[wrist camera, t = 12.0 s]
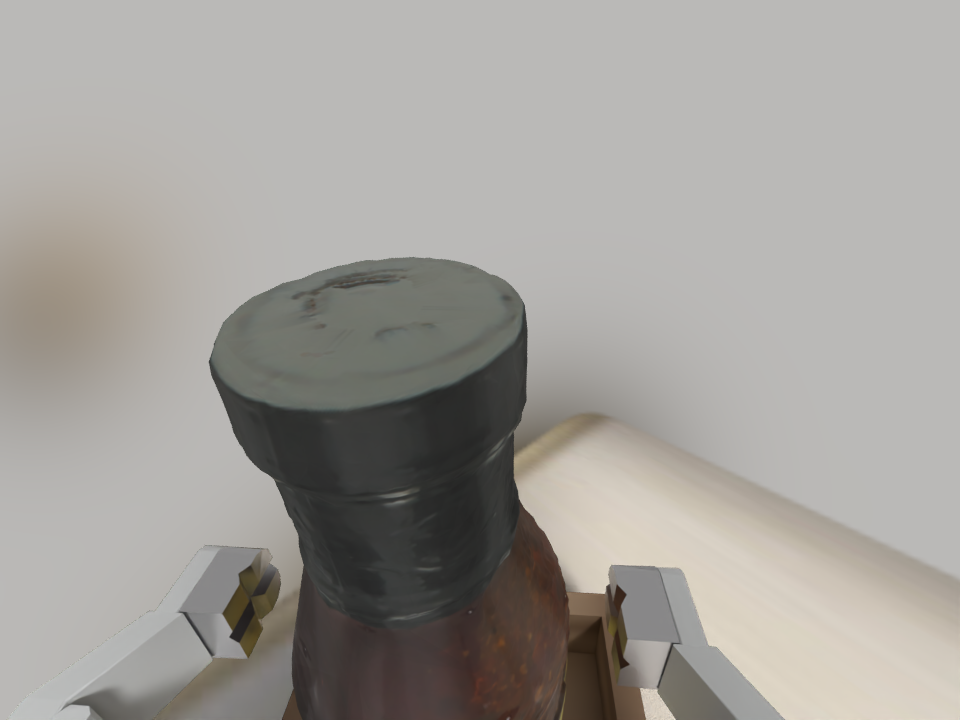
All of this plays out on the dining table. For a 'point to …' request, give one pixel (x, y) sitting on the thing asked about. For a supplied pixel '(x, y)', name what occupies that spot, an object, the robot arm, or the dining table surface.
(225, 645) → the robot arm
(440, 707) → the sauce bottle
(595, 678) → the brown wooden tray
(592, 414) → the dining table surface
